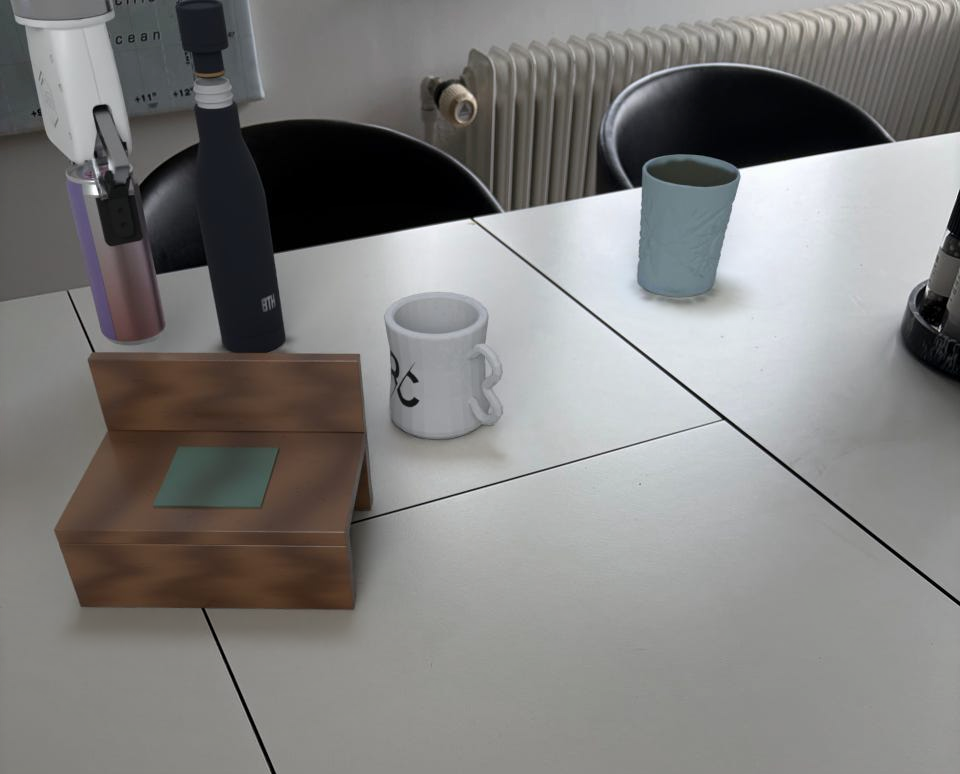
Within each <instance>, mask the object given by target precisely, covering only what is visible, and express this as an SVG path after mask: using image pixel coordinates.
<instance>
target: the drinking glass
mask: <svg viewBox="0 0 960 774" xmlns="http://www.w3.org/2000/svg"><path fill="white" fill-rule="evenodd" d="M641 171H642V172H641V173H642V176H641V200H640V201H641V202H640V206H641V209H640V221H639V225H640V227H639V228H640V230H639V237H640V238H639V240H638V245H639V246H638V259H639V260H638V263H637V273H636V277H637V282H638V284H639V285H640V287H641V288H643V289H645V290H646V291H648V292H650V293H653V294H656V295H660V296H666V297H674V298H685V297H686V298H687V297H695V296H699V295H702V294H705V293H707V292H708V291H710V290H711V289H712V287H713V286H714V283H715V280H716V276H717V271H718V267H719V263H720V259H721V255H722V253H721V252H722V248H723V246H724V241H725V238H726V232H727V229H728V225H729V222H730V218H731V215H732V211H733V204H734V202H735V200H736V196H737V193H738V188H739V185H740V182H741V178H742V176H741V172H740V170H739V168H738V167H736V166H735V165H734V164H732V163H730V162H727V161H725V160H722V159H719V158H714V157H711V156H705V155H697V154H682V153H681V154H679V153H678V154H670V155H669V154H667V155H663V156H658V157H654V158H651V159H649V160H648V161H646V162H645V163H644V164H643V166H642V170H641Z"/></svg>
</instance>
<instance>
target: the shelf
mask: <svg viewBox="0 0 960 774" xmlns="http://www.w3.org/2000/svg"><path fill="white" fill-rule="evenodd" d="M87 363H88V368H89V370H90V374H91V378H92V382H93V385H94V388H95V392H96V395H97V398H98V402H99V406H100V411H101V414H102V416H103V419H104V422H105V427H106V430H107V431H106V432H105V434H104V437H103V438H102V440H101V441H100V444H99V445H98V447H97V449H96V451H95V453H94V455H93V457H92V459H91V460H90V462H89V464H88V466H87V467H86V469H85V471H84V473H83V475H82V476H81V478H80V481H79V482H78V484H77V486H76V488H75V489H74V492H73V494H72V495H71V497H70V498H69V501H68V503H67V504H66V505H65V508H64V510H63V512H62V514H61V515H60V517H59V519H58V521H57V522H56V525H55V526H54V528H53V532H54V535H55V537H56V541H57V543H58V546H59V549H60V551H61V554H62V558H63V560H64V563H65V565H66V569H67V571H68V574H69V578H70V580H71V583H72V586H73V589H74V591H75V595H76V597H77V600H78V603H79V606H80V607H82V608H83V607H84V608H165V609H168V608H172V609H173V608H175V609H251V610H252V609H254V610H255V609H261V610H263V609H264V610H265V609H266V610H269V609H270V610H340V611H341V610H343V611H344V610H349V611H351V610H352V611H353V610H354V609H355V605H356V601H357V600H356V599H357V592H356V590H357V589H356V581H355V574H354V573H355V572H354V564H353V555H352V554H353V553H352V546H351V536H350V529H351V526H352V525H351V524H352V519H353V513H354V511H371V510H372V506H373V501H374V496H373V485H372V484H373V483H372V474H371V471H372V470H371V462H370V451H369V440H368V429H367V418H366V417H367V416H366V405H365V396H364V394H365V393H364V385H363V374H362V373H363V372H362V363H361V354H360V353H317V352H316V353H315V352H314V353H308V352H307V353H306V352H305V353H301V352H300V353H298V352H297V353H296V352H295V353H294V352H291V353H289V352H266V353H234V352H149V351H147V352H145V351H144V352H136V351H135V352H134V351H133V352H131V351H130V352H128V351H127V352H126V351H125V352H123V351H119V352H118V351H93V352H91V353H90V354H89V356H88V358H87Z"/></svg>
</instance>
